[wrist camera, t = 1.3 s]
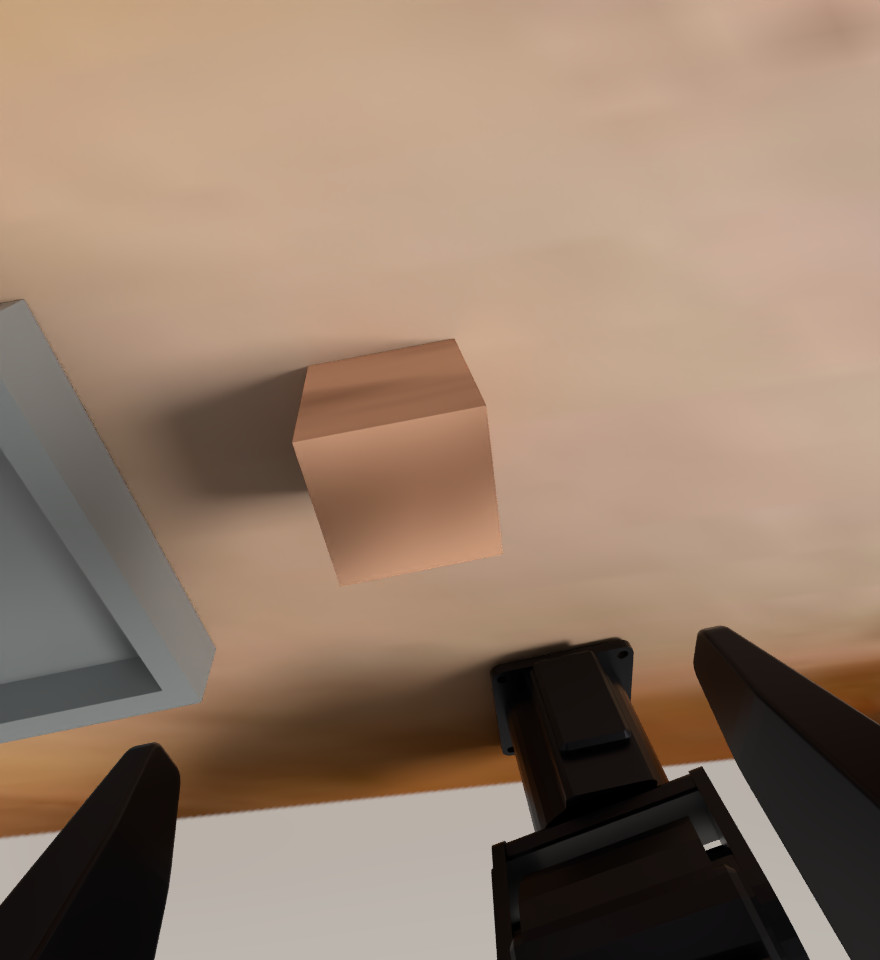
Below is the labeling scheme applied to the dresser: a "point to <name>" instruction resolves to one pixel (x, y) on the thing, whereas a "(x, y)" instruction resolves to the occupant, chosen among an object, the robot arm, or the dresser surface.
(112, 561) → the tray
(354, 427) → the block
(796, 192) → the dresser surface
